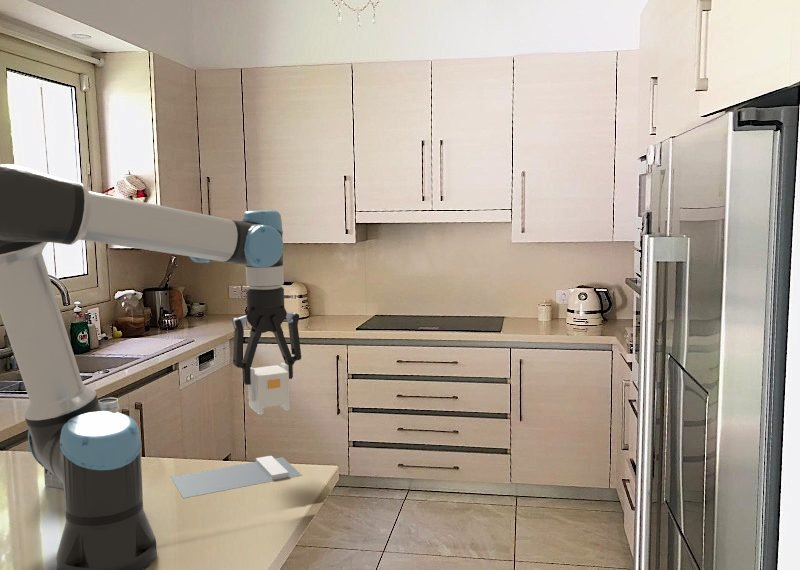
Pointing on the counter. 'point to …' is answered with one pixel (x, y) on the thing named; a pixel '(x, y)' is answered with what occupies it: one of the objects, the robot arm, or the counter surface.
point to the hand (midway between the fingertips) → (268, 396)
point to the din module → (271, 388)
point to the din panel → (234, 476)
